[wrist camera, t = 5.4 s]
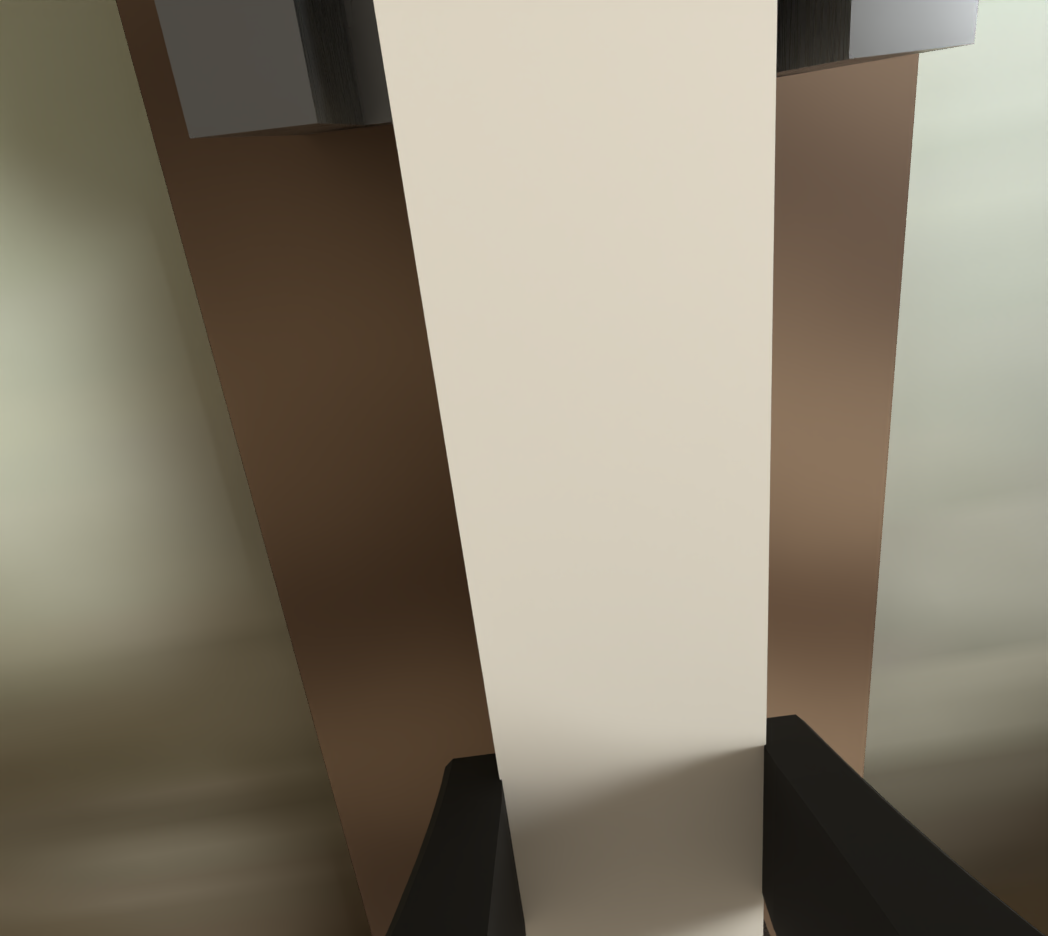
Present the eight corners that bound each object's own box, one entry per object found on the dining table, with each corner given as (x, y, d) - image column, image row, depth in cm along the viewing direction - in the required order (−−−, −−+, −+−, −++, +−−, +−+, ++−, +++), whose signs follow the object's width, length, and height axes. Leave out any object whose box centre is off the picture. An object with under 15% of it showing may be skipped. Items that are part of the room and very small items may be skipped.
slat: (710, 1121, 17) (757, 1314, 14) (571, 1140, 17) (590, 1337, 14) (669, -398, 7) (787, -713, 5) (344, -362, 7) (267, -658, 5)
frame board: (822, 1048, 20) (839, 1092, 19) (431, 1101, 20) (430, 1147, 19) (922, -589, 9) (974, -674, 8) (16, -489, 9) (-39, -561, 8)
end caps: (761, 1090, 19) (841, 1356, 15) (505, 1124, 19) (514, 1401, 15) (783, -580, 8) (1115, -1339, 4) (171, -512, 8) (-157, -1205, 4)
